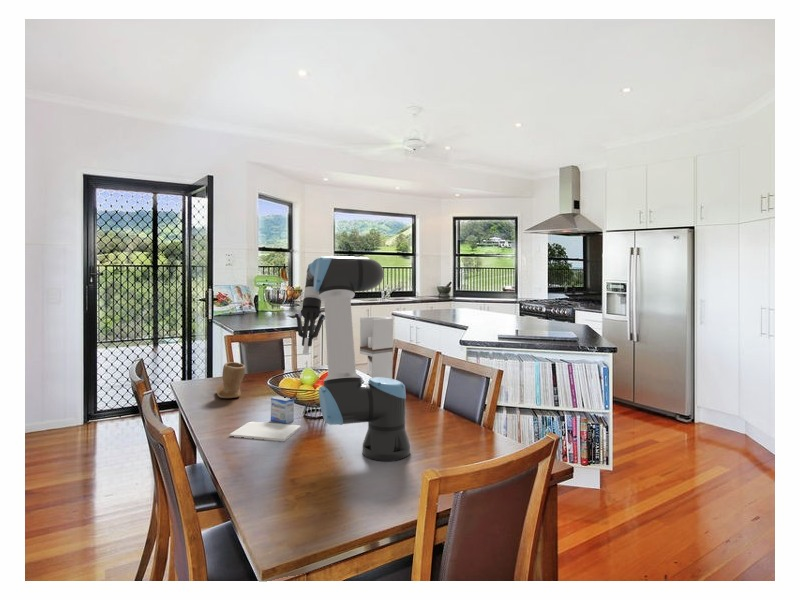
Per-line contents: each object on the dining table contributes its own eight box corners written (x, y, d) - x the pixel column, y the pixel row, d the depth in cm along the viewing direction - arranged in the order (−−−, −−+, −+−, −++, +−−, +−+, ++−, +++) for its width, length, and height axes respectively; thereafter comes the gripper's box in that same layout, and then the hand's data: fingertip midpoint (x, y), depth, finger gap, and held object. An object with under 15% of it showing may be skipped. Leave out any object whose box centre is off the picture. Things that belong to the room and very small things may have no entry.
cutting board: (284, 441, 157) (284, 439, 157) (229, 436, 161) (229, 434, 161) (300, 427, 171) (300, 425, 171) (250, 423, 174) (249, 421, 174)
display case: (378, 387, 232) (379, 316, 229) (392, 391, 224) (393, 318, 221) (359, 390, 224) (360, 317, 222) (372, 395, 216) (373, 319, 214)
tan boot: (246, 398, 207) (246, 365, 206) (217, 401, 202) (217, 366, 201) (243, 390, 221) (243, 358, 220) (216, 392, 216) (216, 360, 215)
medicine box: (270, 420, 178) (270, 398, 178) (278, 417, 182) (278, 395, 182) (286, 424, 175) (286, 401, 174) (294, 420, 179) (294, 398, 178)
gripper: (329, 302, 202) (323, 356, 195) (300, 301, 204) (293, 355, 197) (324, 296, 195) (318, 352, 188) (294, 295, 197) (287, 351, 190)
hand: (305, 353), depth 193 cm, fingers closed
